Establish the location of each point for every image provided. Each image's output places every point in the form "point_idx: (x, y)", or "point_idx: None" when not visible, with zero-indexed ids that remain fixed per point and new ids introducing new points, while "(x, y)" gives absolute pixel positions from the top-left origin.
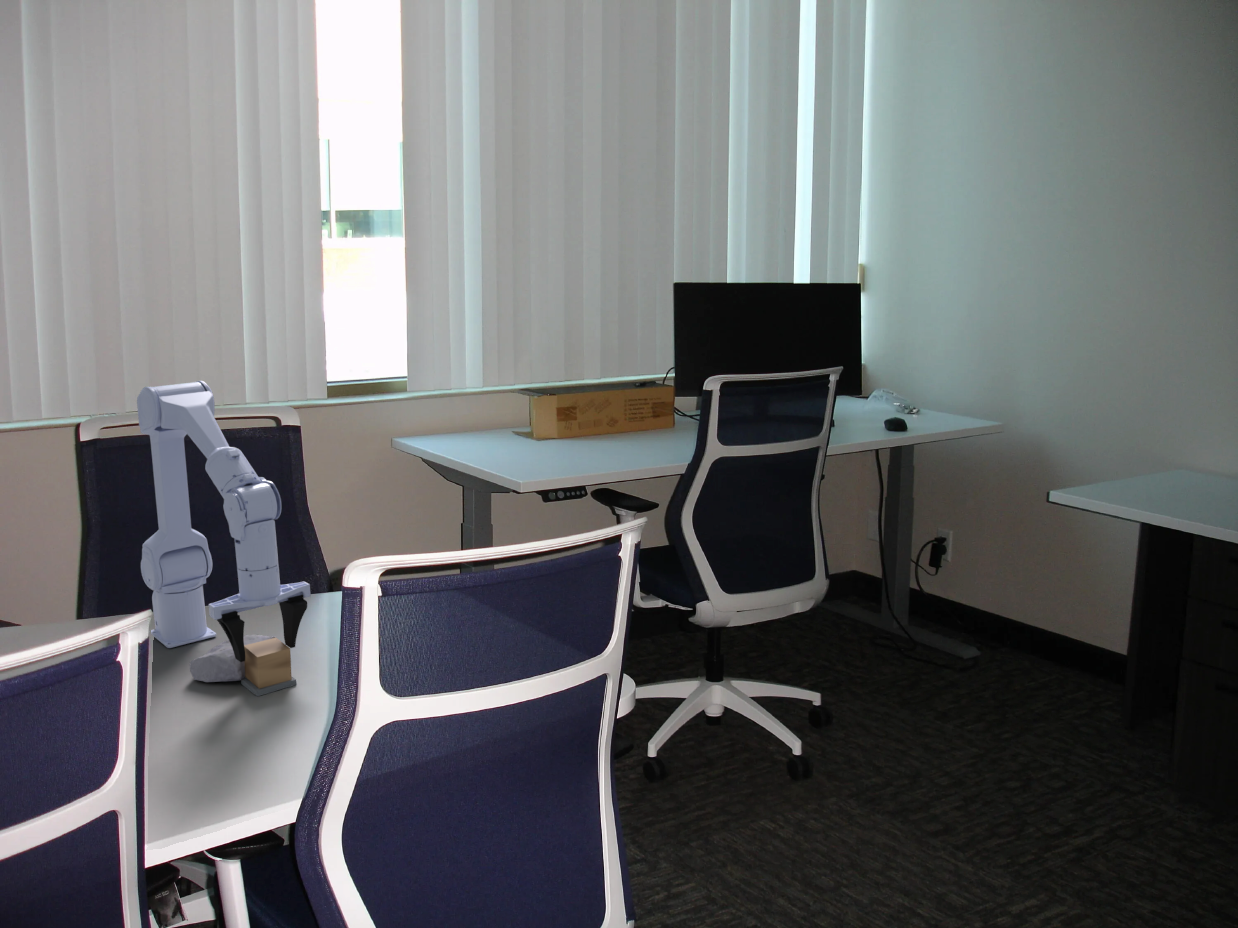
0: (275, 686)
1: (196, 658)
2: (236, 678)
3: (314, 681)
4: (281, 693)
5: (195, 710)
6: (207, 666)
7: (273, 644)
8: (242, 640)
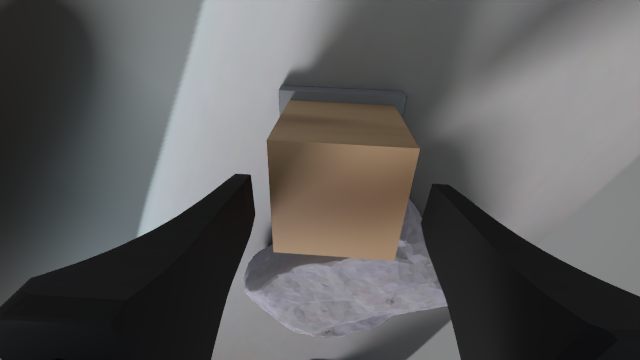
0: (346, 92)
1: (445, 304)
2: None
3: (229, 67)
4: (343, 57)
5: (560, 128)
6: None
7: (306, 211)
8: (487, 235)
